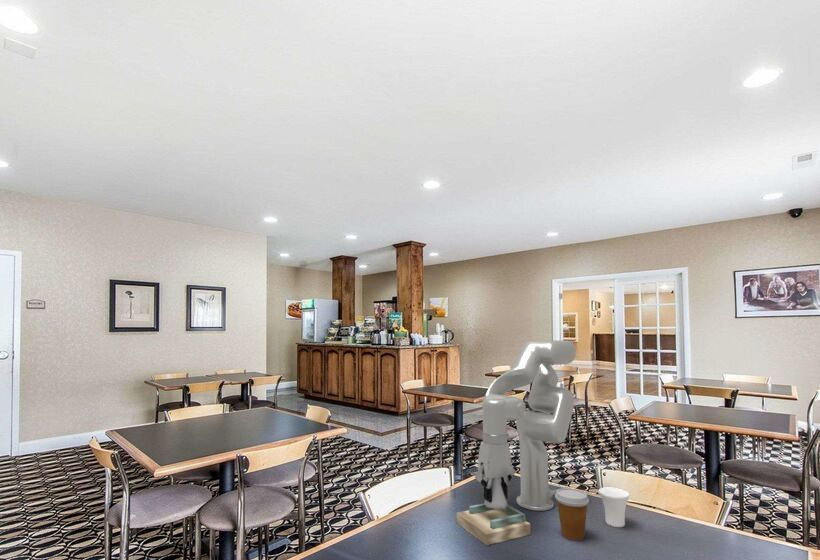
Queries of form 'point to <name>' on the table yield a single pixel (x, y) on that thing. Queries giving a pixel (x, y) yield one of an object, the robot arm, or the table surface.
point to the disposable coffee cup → (572, 512)
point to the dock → (493, 523)
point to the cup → (614, 505)
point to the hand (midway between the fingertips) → (495, 498)
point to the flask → (496, 495)
